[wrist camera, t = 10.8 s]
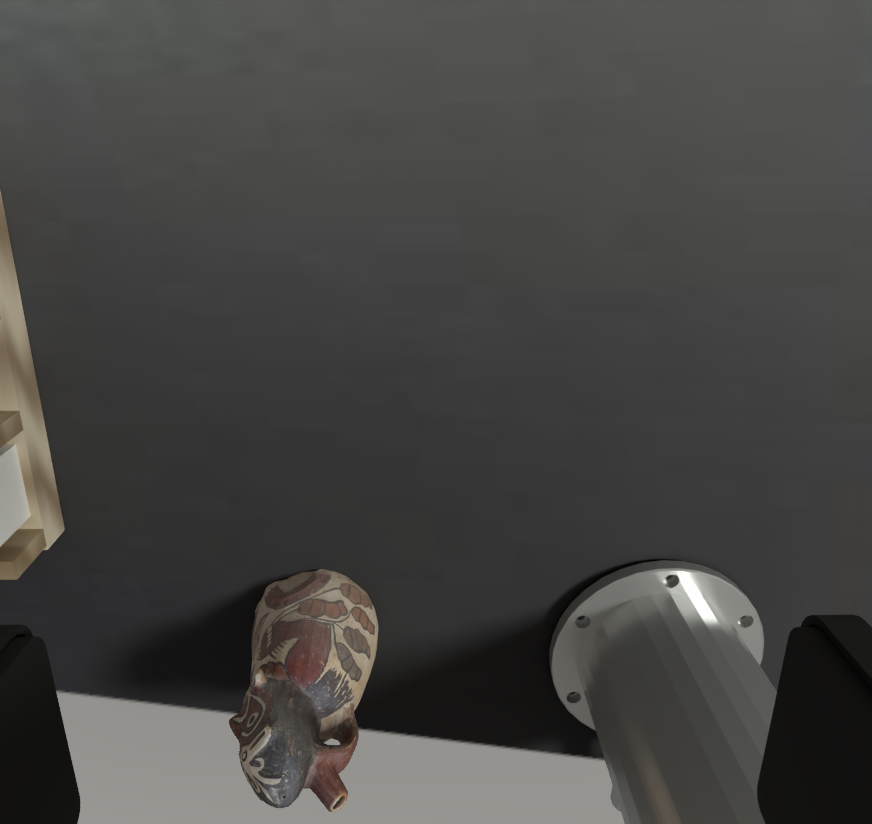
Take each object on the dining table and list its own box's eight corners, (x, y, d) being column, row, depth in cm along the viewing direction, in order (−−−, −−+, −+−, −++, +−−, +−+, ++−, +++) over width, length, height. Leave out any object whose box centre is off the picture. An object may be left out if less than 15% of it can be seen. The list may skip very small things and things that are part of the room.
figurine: (283, 550, 40) (234, 711, 29) (398, 594, 41) (394, 764, 30) (238, 645, 42) (177, 828, 31) (349, 683, 44) (329, 873, 33)
